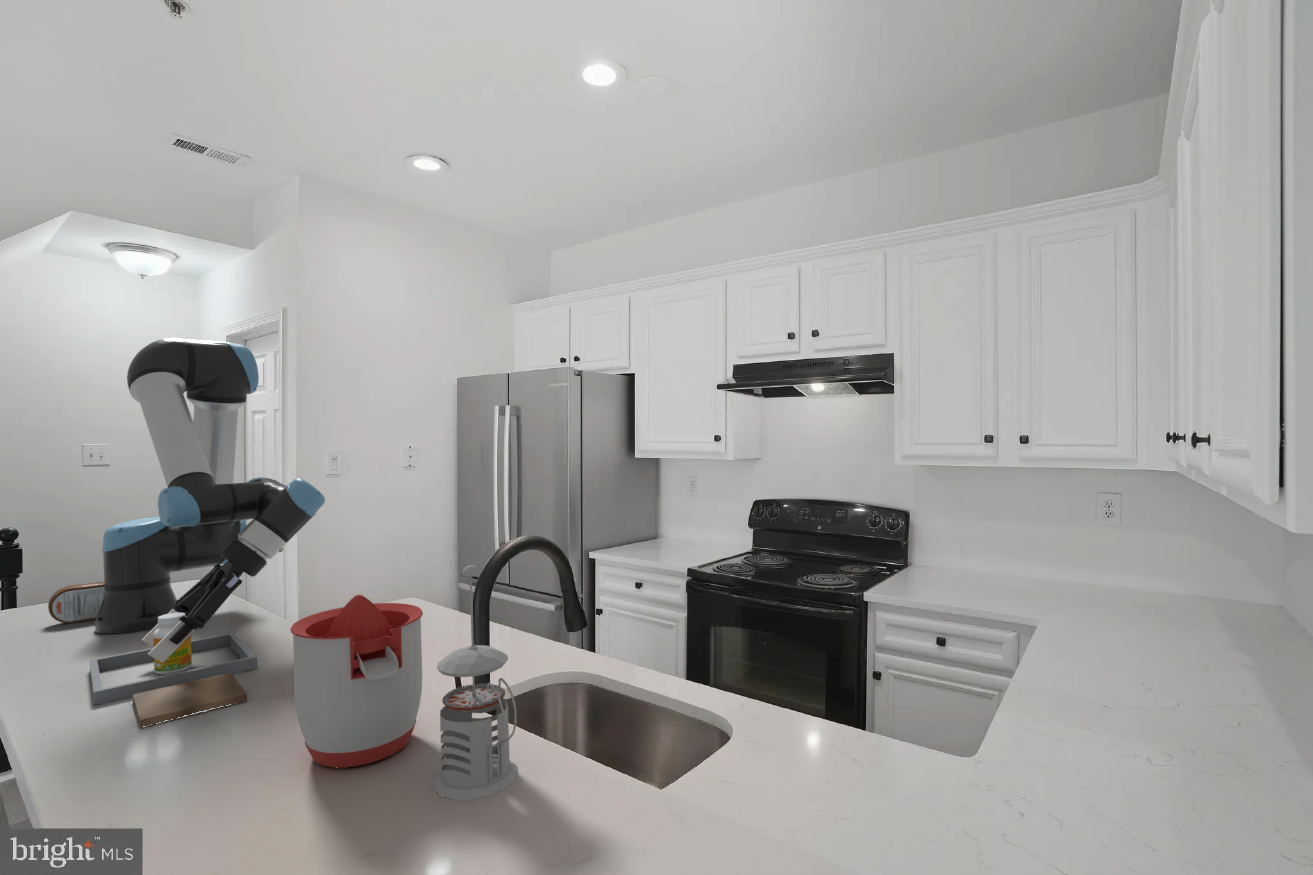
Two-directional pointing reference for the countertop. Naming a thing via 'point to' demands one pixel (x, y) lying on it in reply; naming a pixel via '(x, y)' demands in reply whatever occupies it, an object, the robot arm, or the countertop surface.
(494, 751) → the french press
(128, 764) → the countertop surface
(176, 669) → the supplement bottle
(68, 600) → the tin
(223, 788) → the countertop surface
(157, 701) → the walnut board
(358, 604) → the citrus juicer
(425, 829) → the countertop surface
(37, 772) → the countertop surface
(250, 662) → the tray frame
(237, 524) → the robot arm
